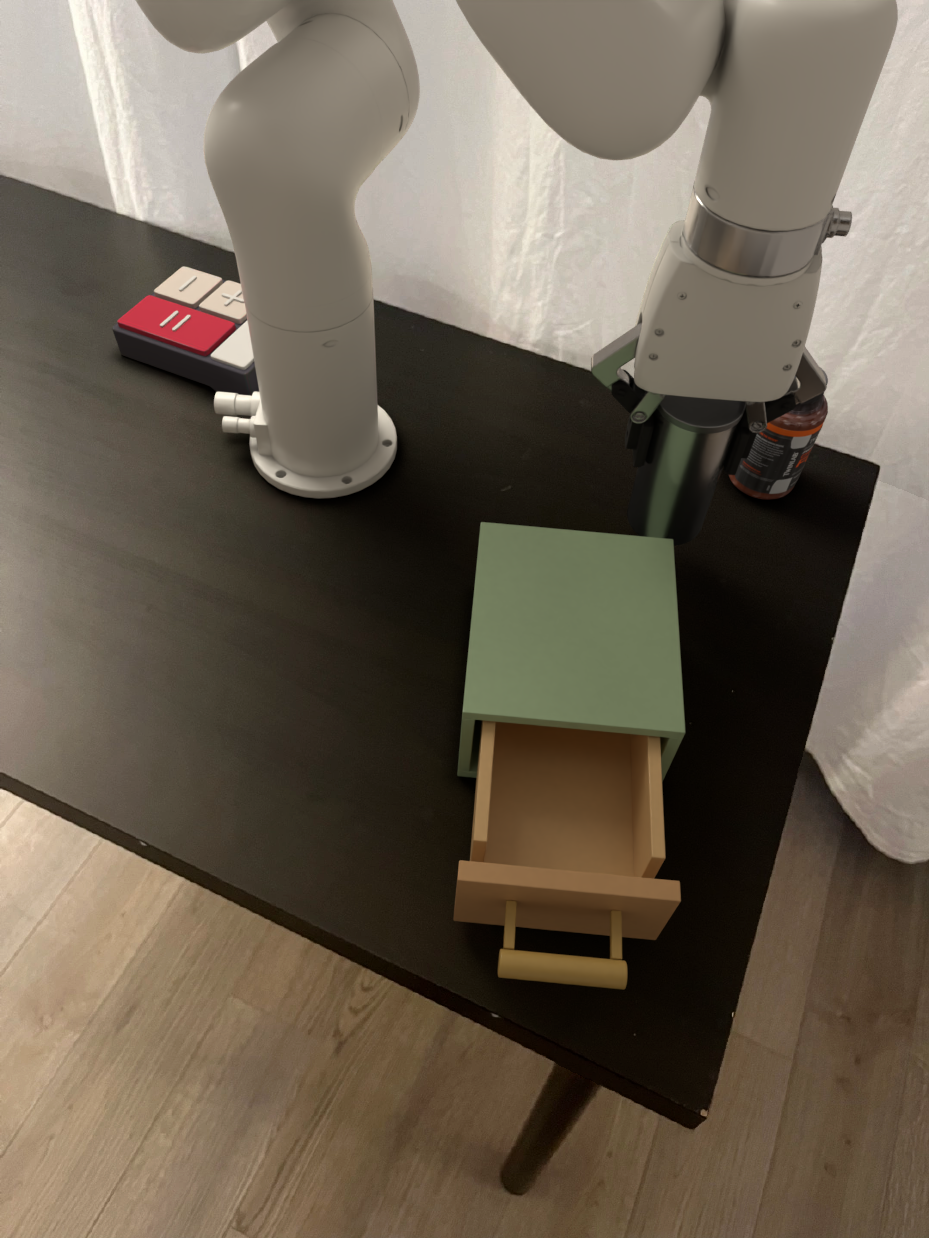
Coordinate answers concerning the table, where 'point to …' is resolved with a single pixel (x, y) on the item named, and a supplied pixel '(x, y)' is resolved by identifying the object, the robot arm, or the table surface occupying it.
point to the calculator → (193, 332)
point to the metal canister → (682, 466)
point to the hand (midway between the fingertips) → (683, 455)
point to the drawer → (567, 846)
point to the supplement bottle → (781, 451)
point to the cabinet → (573, 636)
